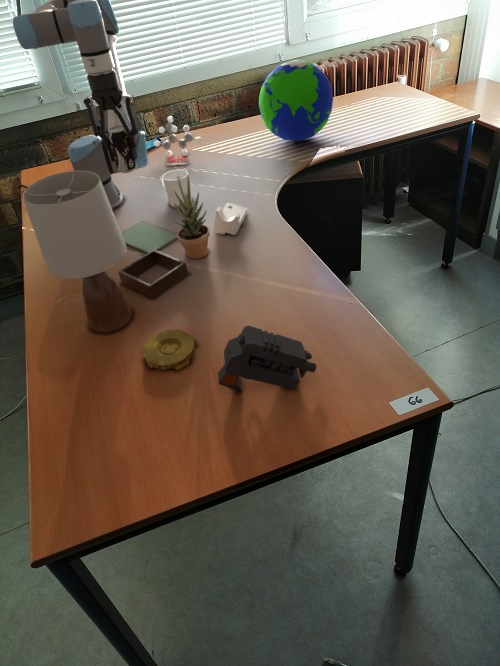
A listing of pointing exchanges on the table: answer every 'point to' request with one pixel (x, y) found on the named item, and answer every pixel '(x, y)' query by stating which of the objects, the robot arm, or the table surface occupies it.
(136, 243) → the mat
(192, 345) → the yellow flat disc
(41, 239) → the lamp
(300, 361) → the tool
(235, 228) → the bracket
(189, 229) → the potted plant
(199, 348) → the table surface
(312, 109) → the globe
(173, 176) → the mug
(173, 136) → the molecule model
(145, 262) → the holder
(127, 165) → the beverage can
